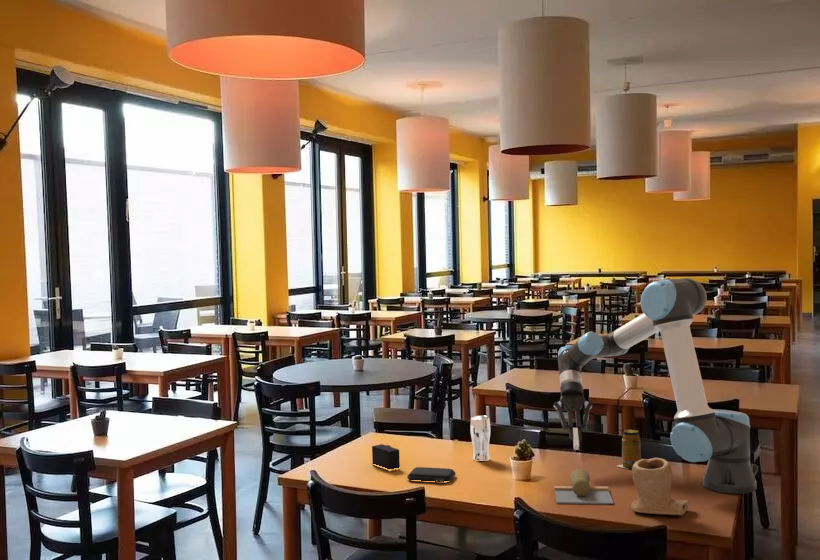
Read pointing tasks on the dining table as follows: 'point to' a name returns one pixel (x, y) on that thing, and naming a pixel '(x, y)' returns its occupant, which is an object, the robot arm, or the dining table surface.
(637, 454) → the condiment
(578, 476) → the cork
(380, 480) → the dining table surface
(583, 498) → the mat
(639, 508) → the stone cup
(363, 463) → the dining table surface
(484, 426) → the beer glass
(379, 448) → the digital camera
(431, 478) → the carrying case or bag
